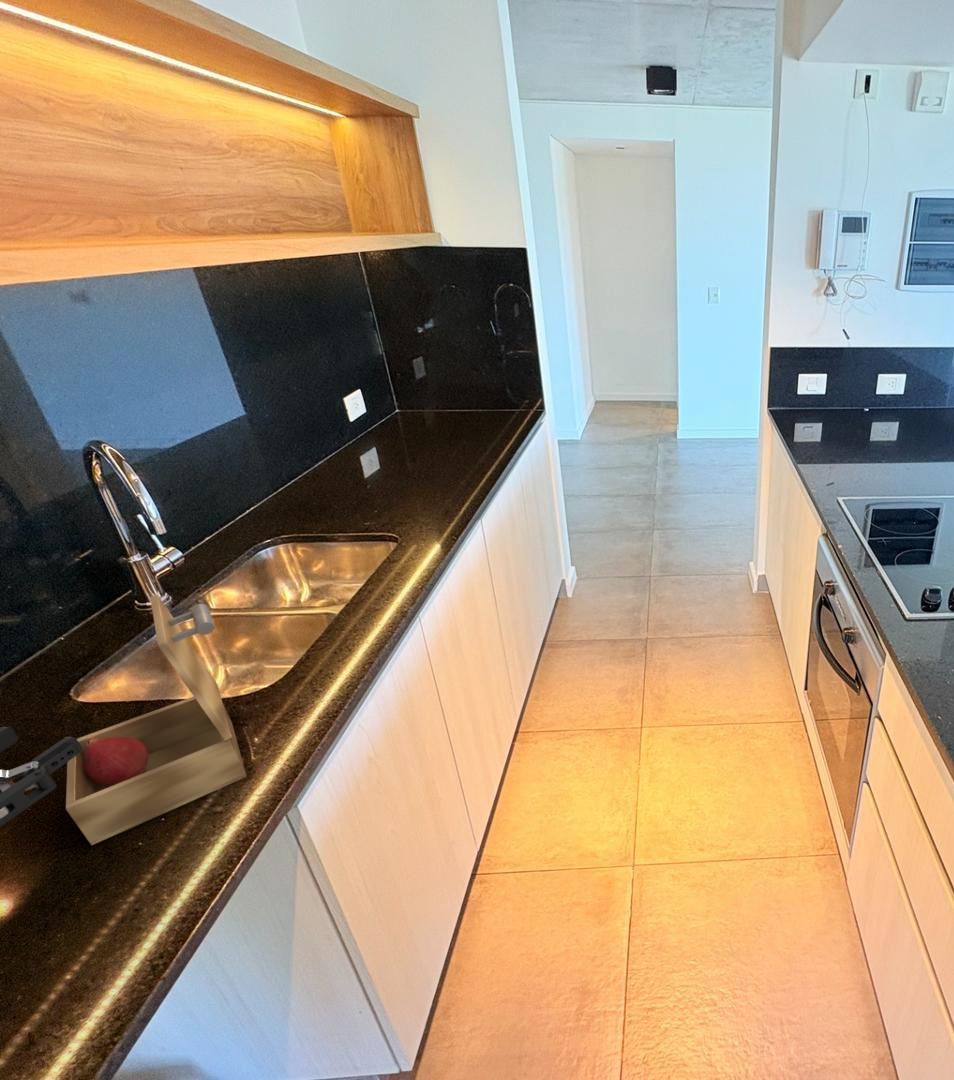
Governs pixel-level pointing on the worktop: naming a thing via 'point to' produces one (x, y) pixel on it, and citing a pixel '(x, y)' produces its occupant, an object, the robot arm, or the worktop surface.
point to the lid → (190, 658)
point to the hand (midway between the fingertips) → (44, 737)
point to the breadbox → (154, 770)
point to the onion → (114, 759)
